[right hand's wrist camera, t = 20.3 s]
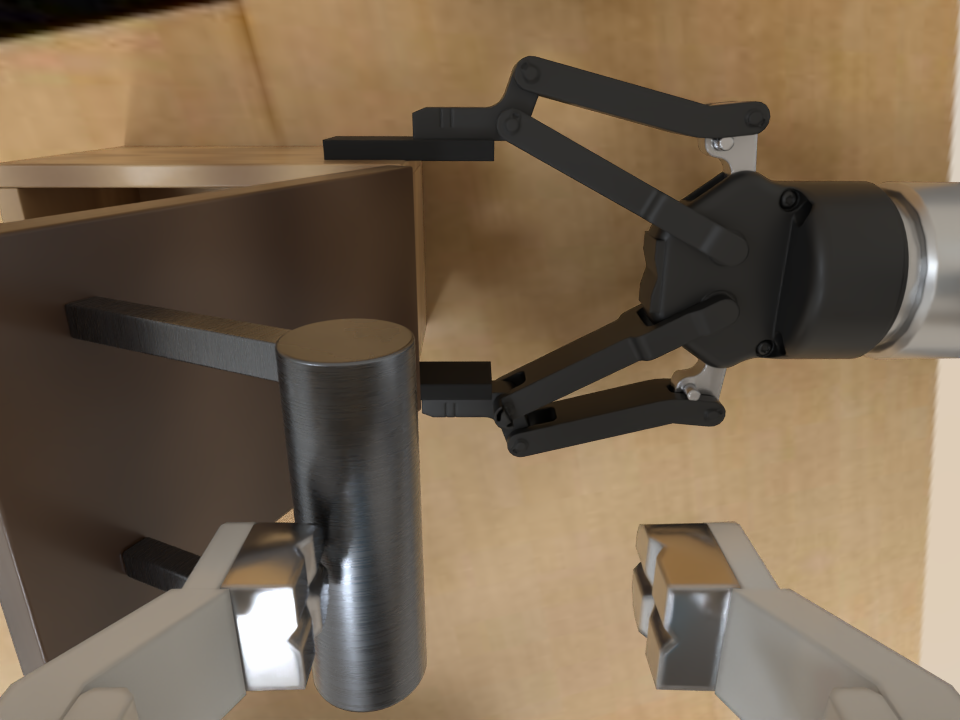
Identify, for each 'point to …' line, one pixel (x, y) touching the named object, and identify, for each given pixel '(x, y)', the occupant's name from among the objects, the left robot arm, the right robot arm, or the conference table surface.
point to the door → (216, 410)
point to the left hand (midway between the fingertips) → (339, 271)
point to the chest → (176, 181)
